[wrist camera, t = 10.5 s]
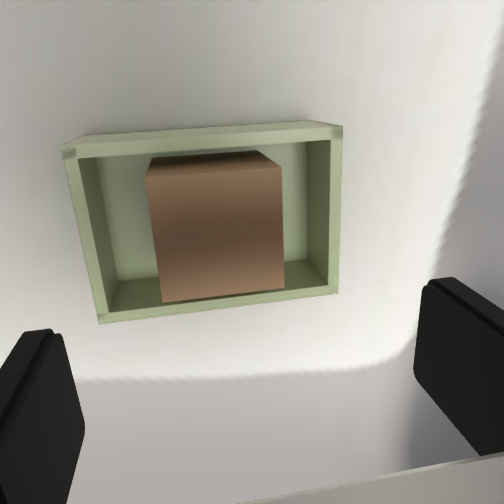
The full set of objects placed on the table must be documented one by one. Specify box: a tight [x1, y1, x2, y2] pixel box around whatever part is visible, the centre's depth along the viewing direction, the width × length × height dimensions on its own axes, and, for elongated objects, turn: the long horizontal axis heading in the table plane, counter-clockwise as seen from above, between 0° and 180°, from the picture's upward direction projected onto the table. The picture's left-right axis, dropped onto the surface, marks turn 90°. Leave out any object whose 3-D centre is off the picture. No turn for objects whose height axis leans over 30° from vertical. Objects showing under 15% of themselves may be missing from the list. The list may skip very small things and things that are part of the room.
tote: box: [61, 120, 343, 324], centre depth 23 cm, size 9×13×5 cm
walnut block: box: [145, 150, 285, 303], centre depth 22 cm, size 6×6×6 cm
